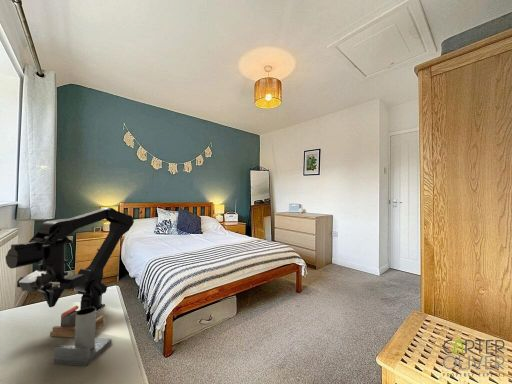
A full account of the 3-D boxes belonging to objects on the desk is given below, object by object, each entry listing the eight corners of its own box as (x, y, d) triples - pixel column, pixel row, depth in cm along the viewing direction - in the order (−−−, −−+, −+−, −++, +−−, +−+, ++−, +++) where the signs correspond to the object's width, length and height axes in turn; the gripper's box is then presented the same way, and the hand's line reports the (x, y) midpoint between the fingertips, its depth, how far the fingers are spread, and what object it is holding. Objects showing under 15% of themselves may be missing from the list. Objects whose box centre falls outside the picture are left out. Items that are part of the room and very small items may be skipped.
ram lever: (72, 320, 74) (72, 305, 74) (80, 321, 73) (81, 305, 74) (57, 329, 69) (58, 313, 69) (66, 330, 68) (67, 313, 69)
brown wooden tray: (70, 323, 75) (70, 313, 75) (103, 324, 74) (104, 315, 74) (50, 336, 68) (50, 325, 68) (86, 337, 67) (87, 327, 67)
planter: (88, 353, 59) (89, 314, 59) (69, 354, 58) (71, 315, 59) (98, 342, 63) (99, 306, 64) (81, 343, 63) (83, 306, 63)
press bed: (82, 341, 66) (83, 327, 66) (111, 342, 65) (112, 328, 65) (53, 363, 57) (54, 347, 57) (86, 365, 56) (87, 349, 56)
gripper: (-4, 266, 64) (-6, 319, 64) (56, 268, 63) (54, 322, 63) (36, 255, 75) (35, 301, 75) (88, 257, 75) (86, 303, 74)
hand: (51, 306), depth 72 cm, fingers closed
